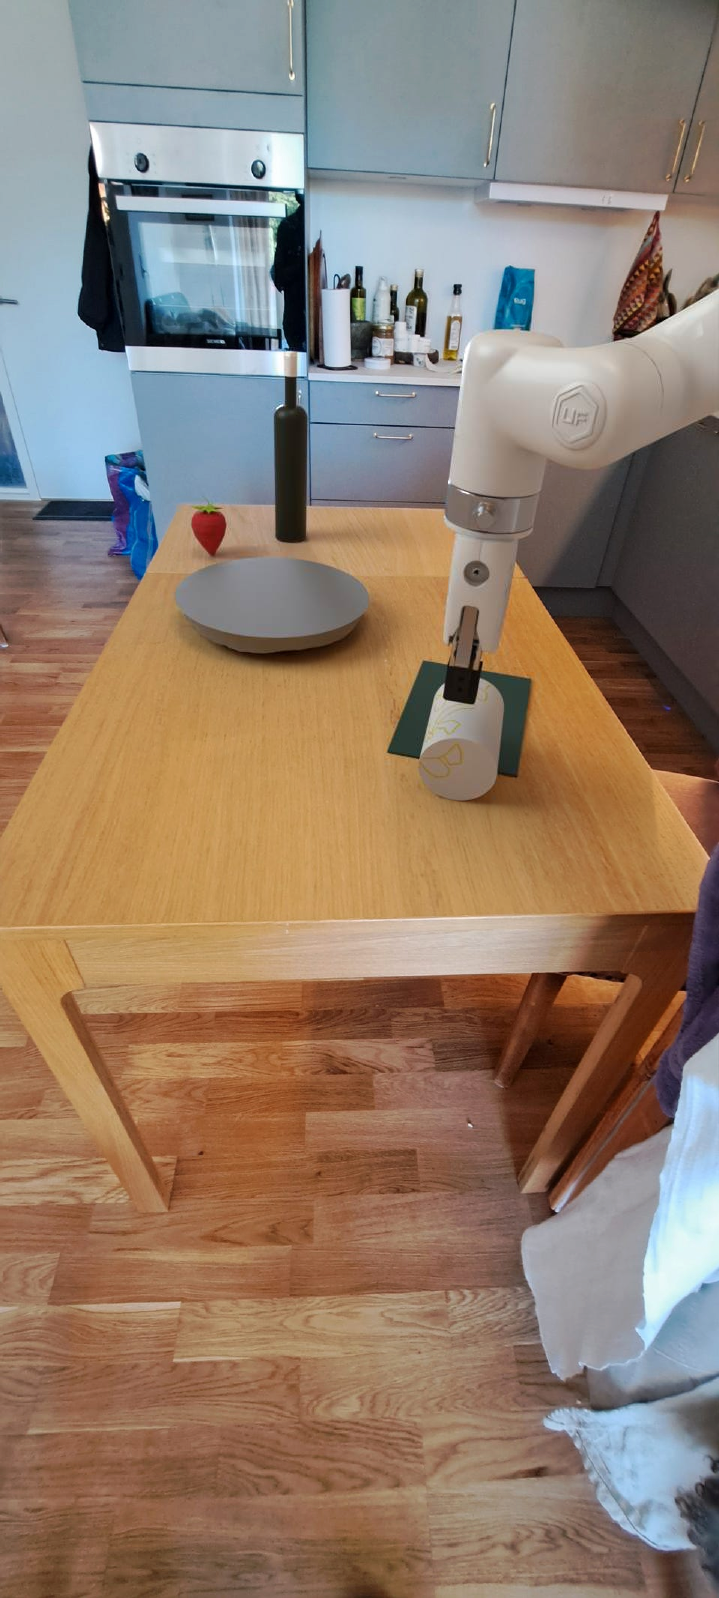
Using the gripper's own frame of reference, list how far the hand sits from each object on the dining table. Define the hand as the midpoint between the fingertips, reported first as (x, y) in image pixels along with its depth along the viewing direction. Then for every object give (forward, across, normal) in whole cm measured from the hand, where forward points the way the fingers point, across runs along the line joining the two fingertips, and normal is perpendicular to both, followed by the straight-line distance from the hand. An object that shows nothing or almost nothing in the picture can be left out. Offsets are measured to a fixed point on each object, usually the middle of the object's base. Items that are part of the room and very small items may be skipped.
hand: (459, 698), depth 72 cm
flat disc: (+12, +33, +31) cm, 47 cm away
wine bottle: (+12, +68, +40) cm, 80 cm away
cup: (+8, -2, -1) cm, 8 cm away
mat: (+12, +17, 0) cm, 20 cm away
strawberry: (+12, +54, +50) cm, 74 cm away
